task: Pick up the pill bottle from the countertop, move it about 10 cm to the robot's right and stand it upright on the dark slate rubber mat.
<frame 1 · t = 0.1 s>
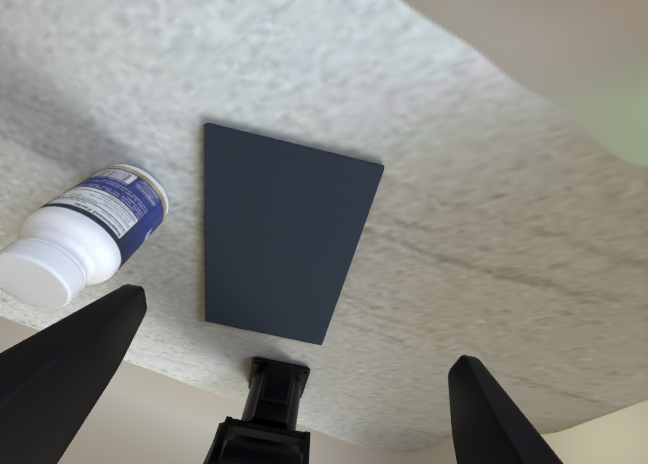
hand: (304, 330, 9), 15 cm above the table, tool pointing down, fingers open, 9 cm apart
pill bottle: (137, 193, 24), on the table
rubber mat: (277, 256, 27), on the table
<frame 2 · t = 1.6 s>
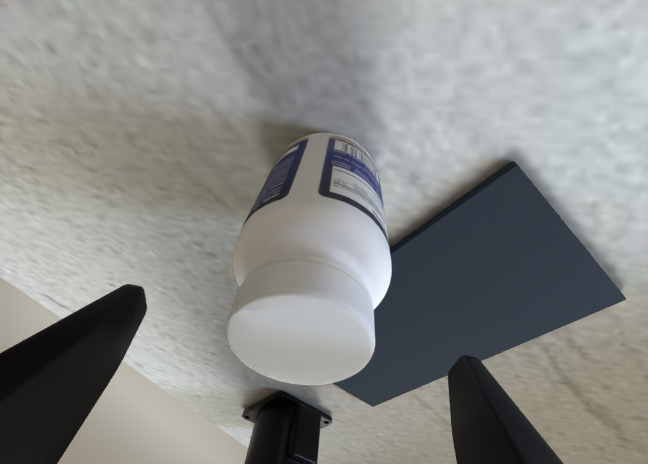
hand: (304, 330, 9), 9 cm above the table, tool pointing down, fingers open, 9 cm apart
pill bottle: (326, 180, 16), on the table
rubber mat: (420, 318, 21), on the table
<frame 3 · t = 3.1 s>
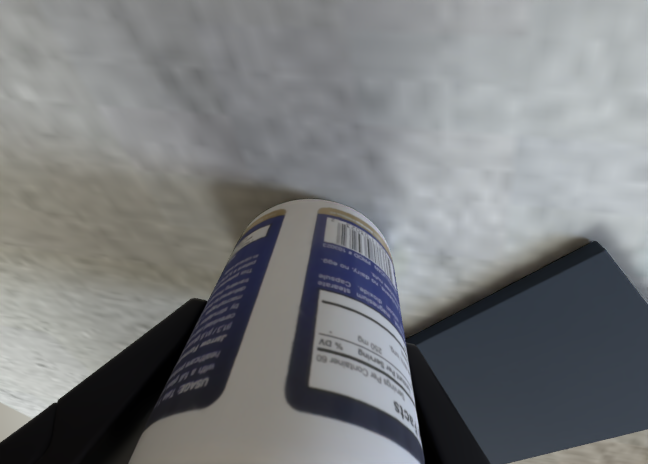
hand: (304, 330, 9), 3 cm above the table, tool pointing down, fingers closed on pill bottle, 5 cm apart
pill bottle: (316, 257, 11), on the table, touching gripper
rubber mat: (441, 413, 16), on the table
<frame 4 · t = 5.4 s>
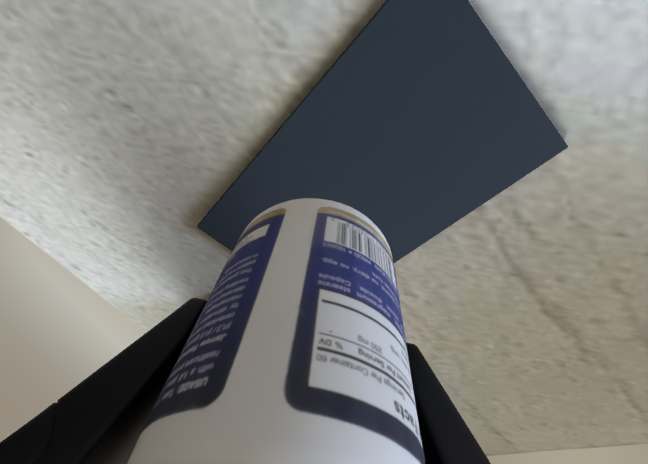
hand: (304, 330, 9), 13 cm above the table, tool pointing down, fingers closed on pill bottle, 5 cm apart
pill bottle: (316, 256, 11), point 9 cm above the table, touching gripper
rubber mat: (357, 188, 20), on the table
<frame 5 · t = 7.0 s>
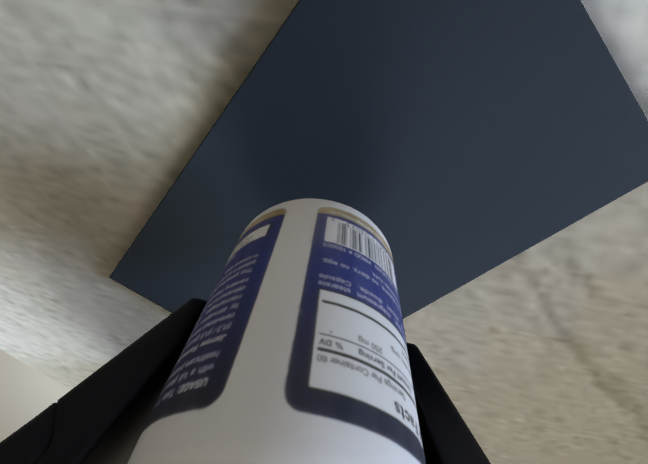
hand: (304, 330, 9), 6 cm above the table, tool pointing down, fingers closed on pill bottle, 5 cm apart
pill bottle: (316, 256, 11), point 2 cm above the table, touching gripper
rubber mat: (333, 227, 13), on the table
when the fingers open (3 cm above the table, at t = 8.1 s): pill bottle stays where it is, resting on rubber mat.
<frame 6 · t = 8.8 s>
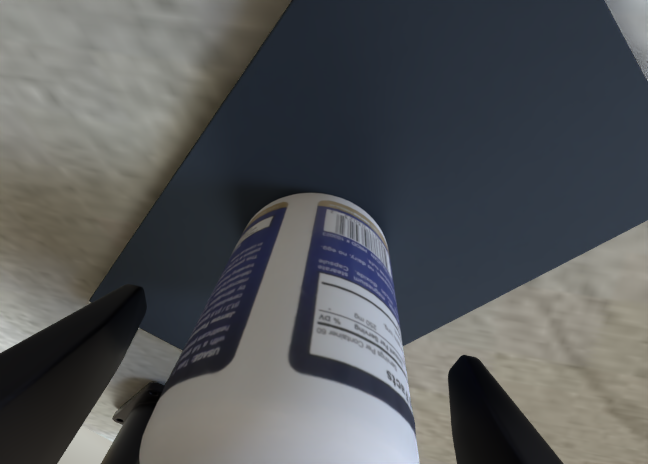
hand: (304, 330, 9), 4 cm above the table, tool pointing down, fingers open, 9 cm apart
pill bottle: (316, 249, 12), resting on rubber mat
rubber mat: (328, 250, 12), on the table
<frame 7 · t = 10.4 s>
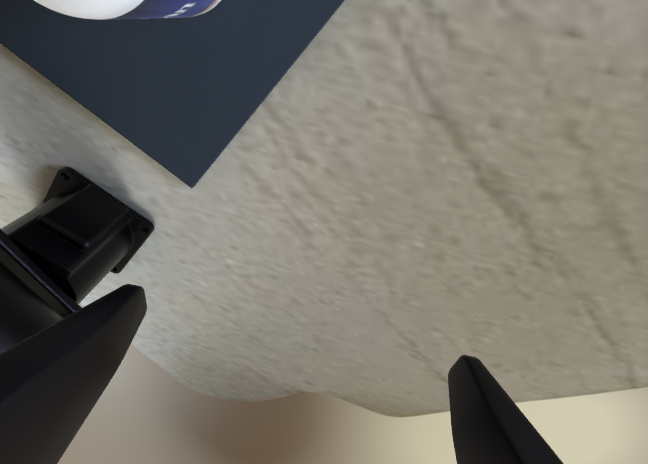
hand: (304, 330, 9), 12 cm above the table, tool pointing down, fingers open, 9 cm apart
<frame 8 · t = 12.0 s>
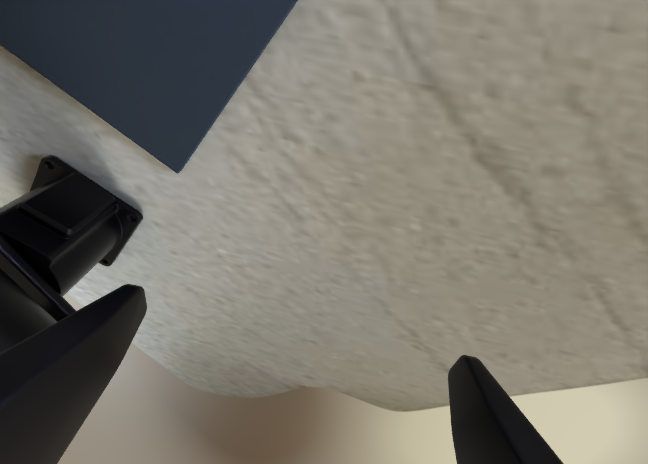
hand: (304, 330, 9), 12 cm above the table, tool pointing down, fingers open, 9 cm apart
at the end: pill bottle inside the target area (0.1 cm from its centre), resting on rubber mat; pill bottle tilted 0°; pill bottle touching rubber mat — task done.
